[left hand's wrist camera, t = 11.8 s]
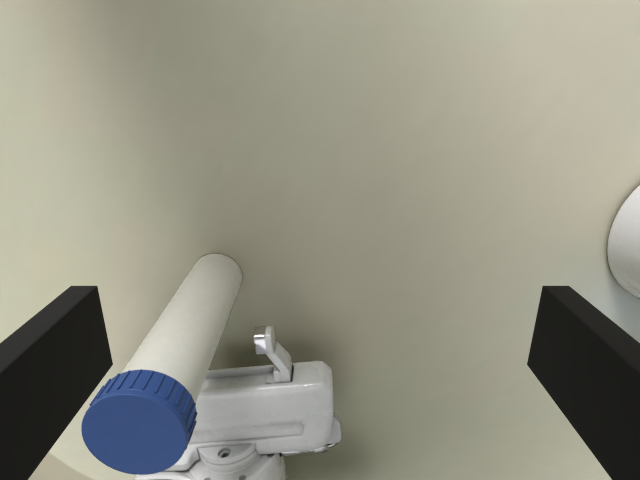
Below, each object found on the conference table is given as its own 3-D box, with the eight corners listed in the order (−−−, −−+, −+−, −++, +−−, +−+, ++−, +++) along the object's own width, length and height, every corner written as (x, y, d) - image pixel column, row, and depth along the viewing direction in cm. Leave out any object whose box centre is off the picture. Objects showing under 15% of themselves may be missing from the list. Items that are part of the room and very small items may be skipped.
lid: (155, 461, 26) (142, 491, 24) (78, 406, 24) (57, 434, 22) (218, 410, 25) (209, 438, 23) (140, 349, 23) (124, 374, 21)
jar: (219, 307, 42) (144, 476, 24) (182, 275, 41) (74, 428, 23) (252, 277, 41) (200, 431, 23) (215, 243, 40) (129, 378, 22)
